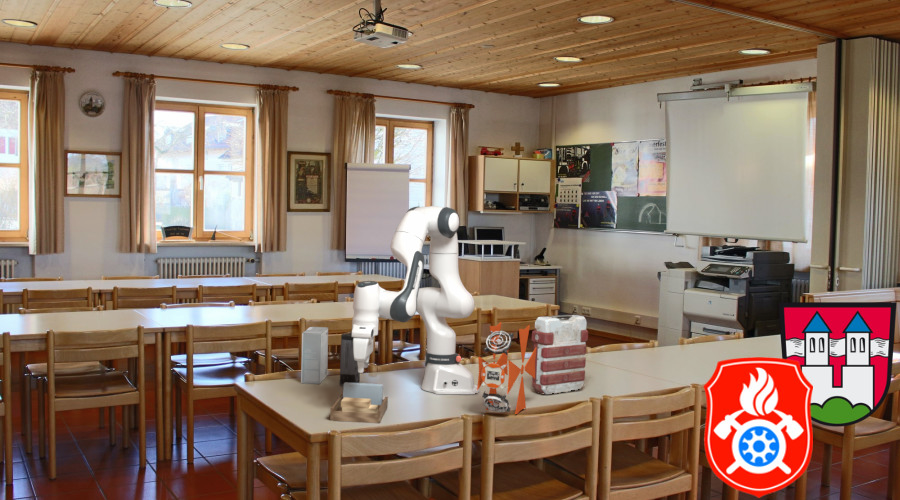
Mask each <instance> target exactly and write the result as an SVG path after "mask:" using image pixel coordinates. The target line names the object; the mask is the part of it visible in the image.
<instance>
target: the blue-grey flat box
mask: <svg viewBox="0 0 900 500" xmlns="http://www.w3.org/2000/svg"><path fill="white" fill-rule="evenodd" d="M342 387H343V389H342V390H343V392H342V393H343V398H344V397H347V398H366V399H371V405H381V404H382V399H383V394H384V393H383V392H384V391H383V390H384V384H382V383H381V384H380V383H366V382H365V383H363V382H359V383H347V382H345V383H344V386H342Z"/></svg>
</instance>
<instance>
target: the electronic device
mask: <svg viewBox="0 0 900 500" xmlns="http://www.w3.org/2000/svg"><path fill="white" fill-rule="evenodd" d="M353 338H354V337H352V330H351V331H346V332H344V333H341V336H340V339H341V340H340V363H339V367H340V368H339V386H340V387H343V386H344V383H345V382H347V383H361V381H360V379H361V378H360V377H361V375H360V374H361V373H359V372H358V363H357V362H358V361H355V360H354V354H353Z"/></svg>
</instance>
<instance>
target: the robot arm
mask: <svg viewBox="0 0 900 500" xmlns="http://www.w3.org/2000/svg"><path fill="white" fill-rule="evenodd" d="M460 224H461V222H460V215H459V213H458V212H457V210H455V209H454V208H452V207H448V206H445V207H443V206H438V205H436V206H435V205H430V206H413V207H409V209H408V210H407V211H406V212H405V214H404V215H403V217H402V218H401V220H400V222H399V223H398V226H397V227H396V228H395V229H396V230H395V232H394V233H393V236H392V239H391V243H390V251H391V254H392V255H393V256H394V258H395V259H396V260H397V261H398V262H400V263H402V264H403V265H404V266H406V269H407V270H406V274H405V278H404V283H403V287H402V289H401V290H400V291H391V290H386V289H385V288H383V287H381V286H380V285H379V282H378V281H375V280H364V281H360V282H358V283H357V284H356V286H355V288H354V293H353V301H352V303H353V304H352V308H353V316H352V320H351V321H352V322H351V323H352V324H351V331H352V337H354V338H353V354H354V360H355V361H358V362H357V363H358V372H359V373H360V374H363V373H364V371H365V369H367V368H368V367H369V362H370V361H369V360H370V357H371V356H370V355H371V354H372V353H374V340H375V337H376V336H378V335H379V322H380V321H379V318H381V319H386V320H387V319H388V320H393V321H397V322H399V323H408V322H409V321H410V320H411V319H412V318H413V317H414V316H415V315H416V313H418V315H419V316H420V318H421V319H422V321H423V323H424V326H425V330H426V351H425V355H424V366H425V368H424V374H423V375H424V376H423V380H422V384H421V386H420V389H422V390H423V391H426V392H429V393H433V394H436V395H476V394H475V393H477V394H479V393H480V388H479V389H478V391H477V386H478V384H475V379H474V375H473V373H472V372H471V371H470V370H469V369H468V368H467V367H465V366H464V365H463V364H462V363H461V361H462V357H461V355H460V354H459V353H457V352H456V344H457V343H456V341H457V334H456V332H455V330H454V329H453V328H452V327H450V326H449V324H448V322H447V320H446V318H450V319H464V318H465V319H466V318H468V317H470V316H471V315H472V313H473V312H474V309H475V299H474V297H473V296H472V294H471V293H470V292H469V291H468V290H467V289H466V287H465V286H464V284H463V282H462V280H461V276H460V271H459V269H460V268H459V241H458V233H457V232H458V230H459V228H460ZM427 237H430V241H429V242H430V243H429V255H428V257H429V259H428V260H429V265H428V268H429V269H428V271H429V274H430V275H431V276H432V277H433V278H434V279H436V280H437V282H438V284H439V285H440V287H433V286H429V287H428V286H426V287H421V284H422V279H423V273H424V269H425V268H424V267H425V256H424V254H423V252H422V251H423V247H424V243H425V241H426V238H427Z"/></svg>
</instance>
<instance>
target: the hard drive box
mask: <svg viewBox="0 0 900 500" xmlns="http://www.w3.org/2000/svg"><path fill="white" fill-rule="evenodd" d="M328 342H329V327H325V326H324V327H323V326H309V327H308V328H307V329H306V330H304V331H303V332H302V333H301V364H300V365H301V367H300V369H301V370H300V371H301V372H300V384H311V385H320V384H321V383H322V382H323V381H324V380H325V379H326V378H327V376H328V359H329V357H328V352H329V351H328V350H329V348H328V347H329V346H328V345H329V343H328Z"/></svg>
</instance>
